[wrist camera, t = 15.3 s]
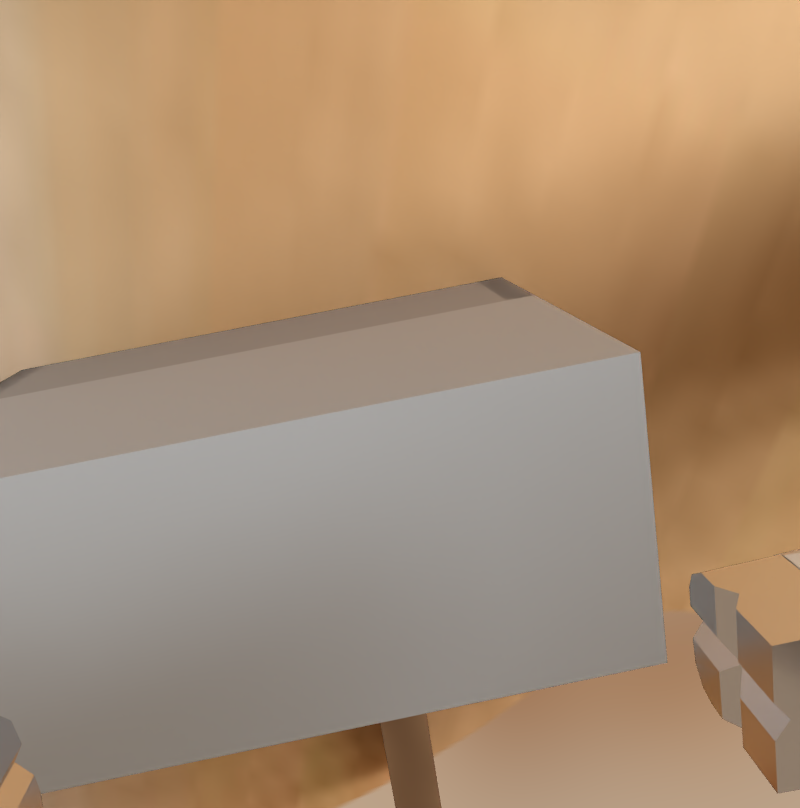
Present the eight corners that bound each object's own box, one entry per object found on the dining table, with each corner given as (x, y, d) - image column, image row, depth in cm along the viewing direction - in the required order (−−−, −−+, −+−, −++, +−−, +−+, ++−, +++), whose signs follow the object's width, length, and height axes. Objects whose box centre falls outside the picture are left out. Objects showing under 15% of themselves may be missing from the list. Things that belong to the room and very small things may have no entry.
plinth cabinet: (501, 277, 37) (640, 352, 20) (531, 495, 40) (671, 715, 23) (21, 370, 36) (-253, 527, 19) (94, 583, 40) (-84, 875, 23)
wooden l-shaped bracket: (397, 533, 40) (404, 579, 36) (430, 742, 44) (441, 809, 40) (210, 565, 40) (193, 616, 35) (261, 772, 44) (252, 843, 39)
